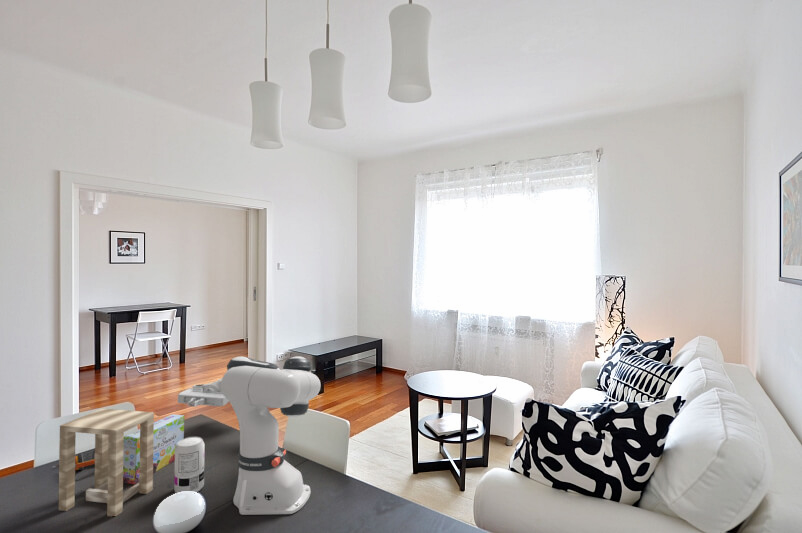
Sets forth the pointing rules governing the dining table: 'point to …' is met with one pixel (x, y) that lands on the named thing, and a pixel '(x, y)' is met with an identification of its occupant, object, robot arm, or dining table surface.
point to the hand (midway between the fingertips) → (191, 404)
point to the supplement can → (189, 465)
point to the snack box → (163, 447)
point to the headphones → (79, 461)
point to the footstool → (106, 457)
